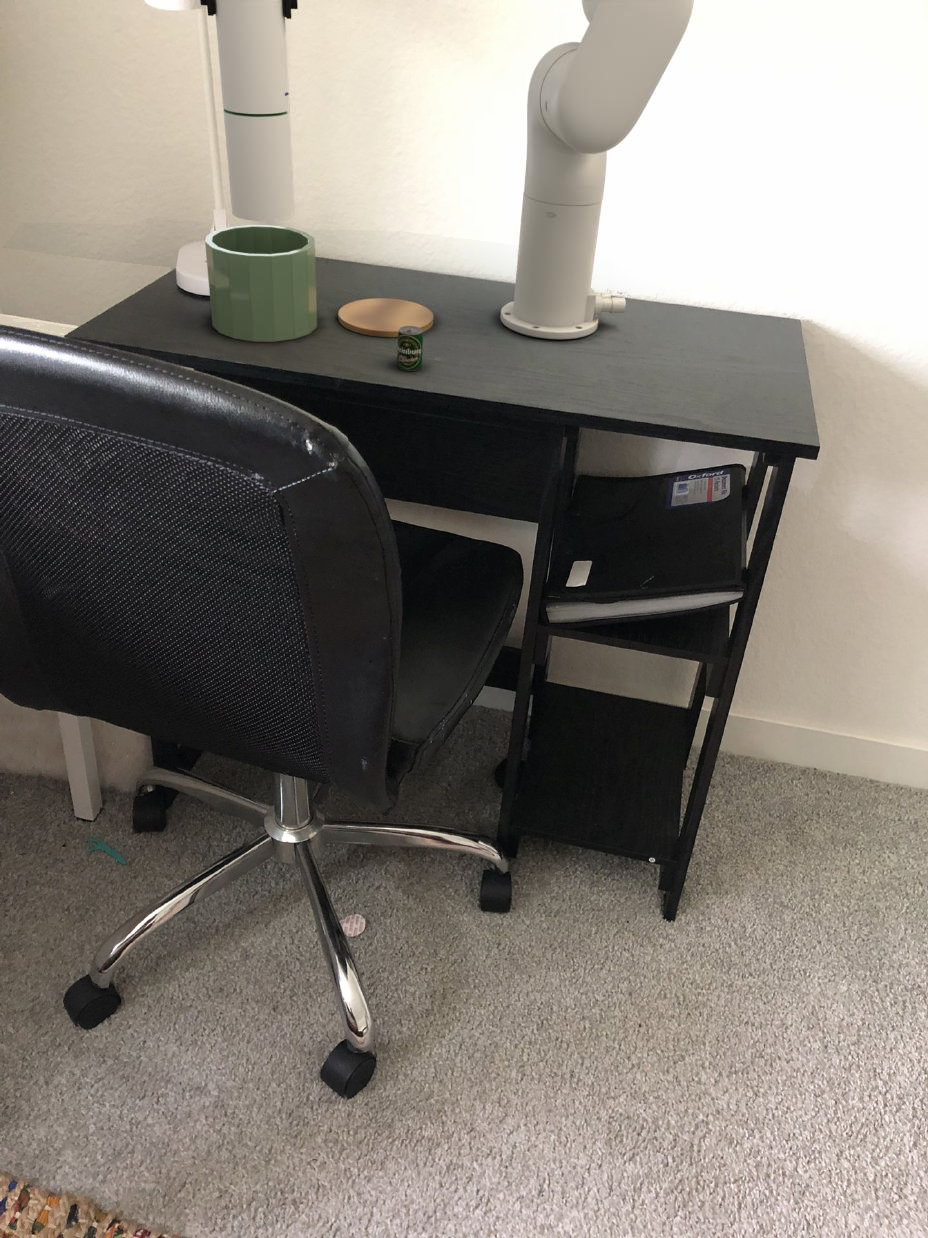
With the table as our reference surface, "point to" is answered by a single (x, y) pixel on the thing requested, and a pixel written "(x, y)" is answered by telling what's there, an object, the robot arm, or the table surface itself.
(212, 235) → the crock
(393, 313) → the coaster
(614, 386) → the table surface
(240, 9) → the cylindrical container
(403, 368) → the beer can
